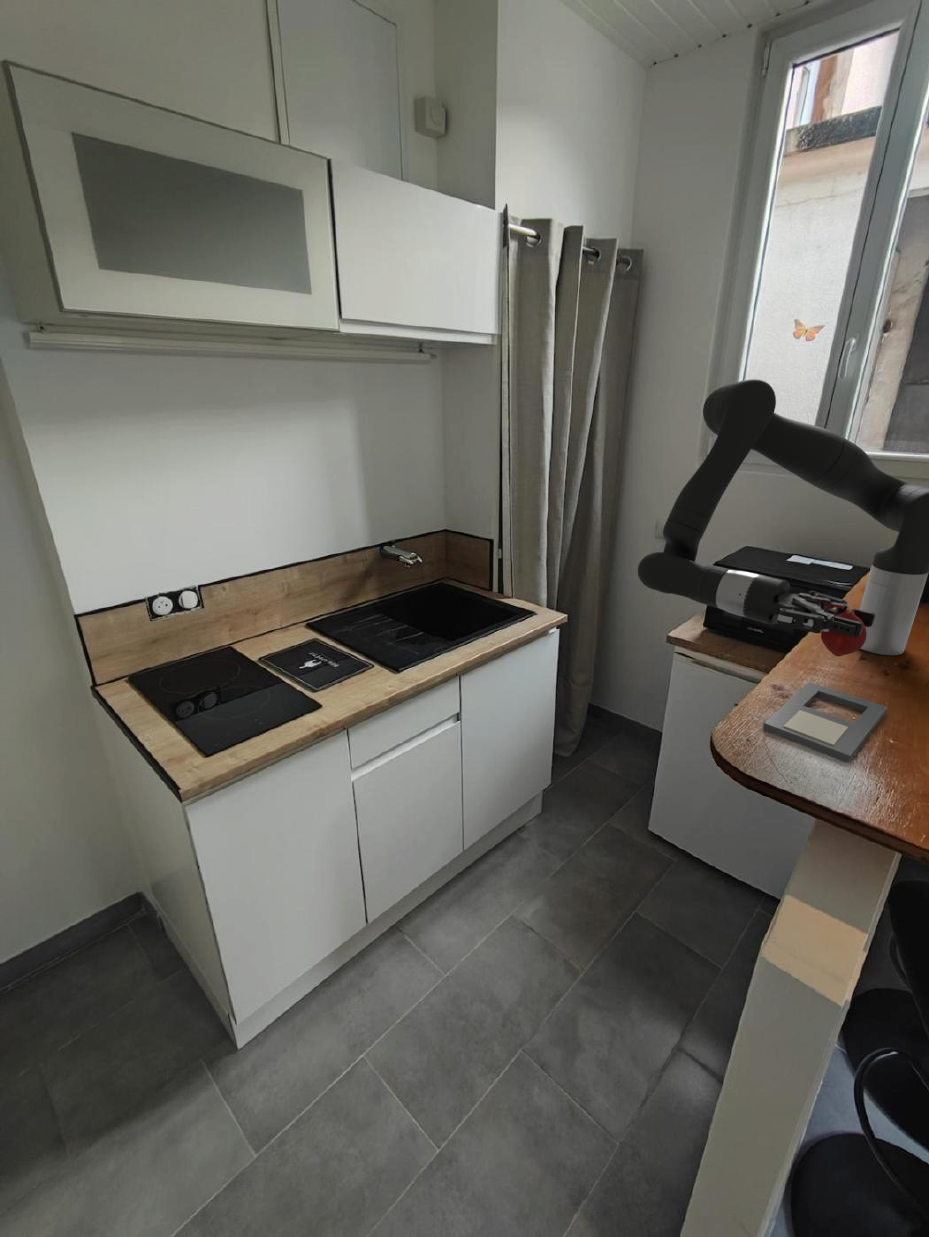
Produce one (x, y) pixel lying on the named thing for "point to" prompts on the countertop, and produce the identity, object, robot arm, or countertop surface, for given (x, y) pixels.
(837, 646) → the onion
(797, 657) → the countertop surface
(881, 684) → the countertop surface
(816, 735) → the tray
